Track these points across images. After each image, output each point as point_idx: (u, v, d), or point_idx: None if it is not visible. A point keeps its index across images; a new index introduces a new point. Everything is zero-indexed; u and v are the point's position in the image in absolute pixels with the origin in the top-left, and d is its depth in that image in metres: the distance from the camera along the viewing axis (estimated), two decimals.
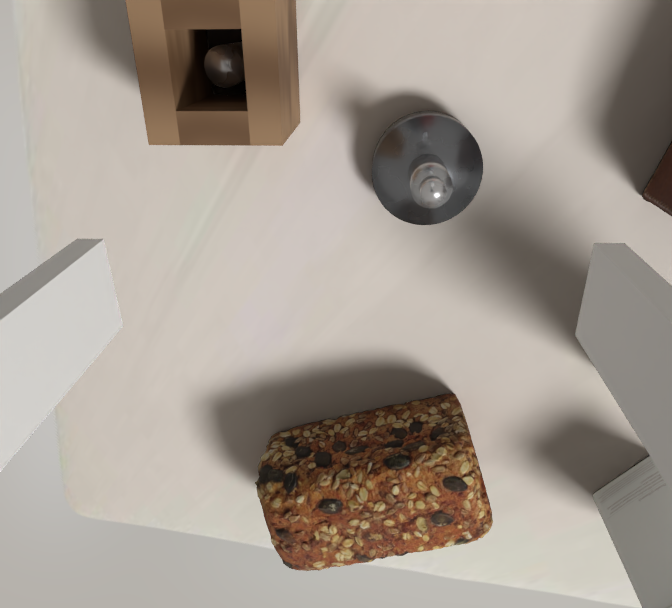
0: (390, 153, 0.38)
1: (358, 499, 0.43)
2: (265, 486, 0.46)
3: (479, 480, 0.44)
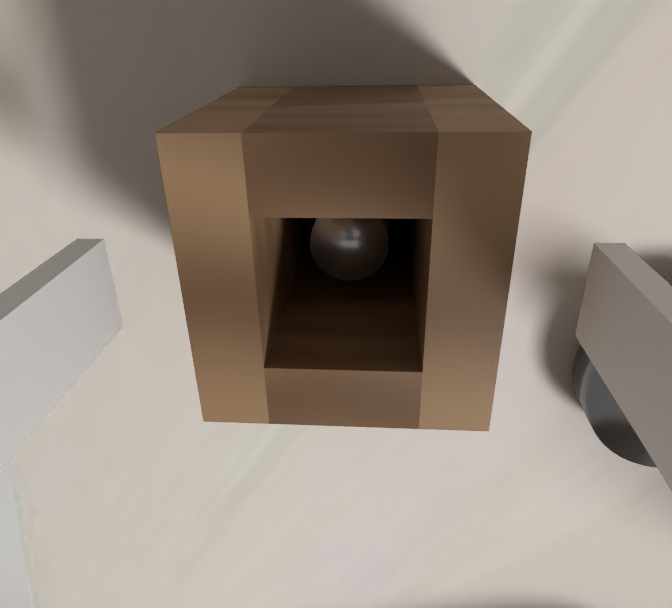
0: None
1: None
2: None
3: None
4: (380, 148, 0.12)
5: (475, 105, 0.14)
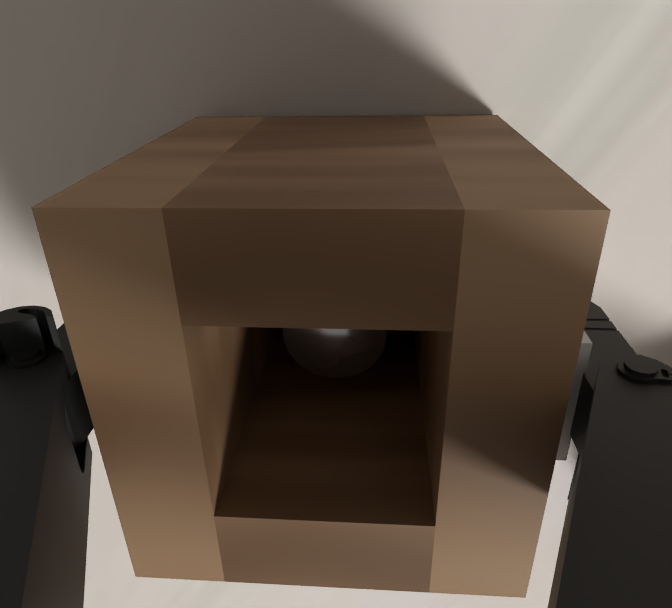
0: None
1: None
2: None
3: None
4: (374, 232, 0.08)
5: (507, 152, 0.10)
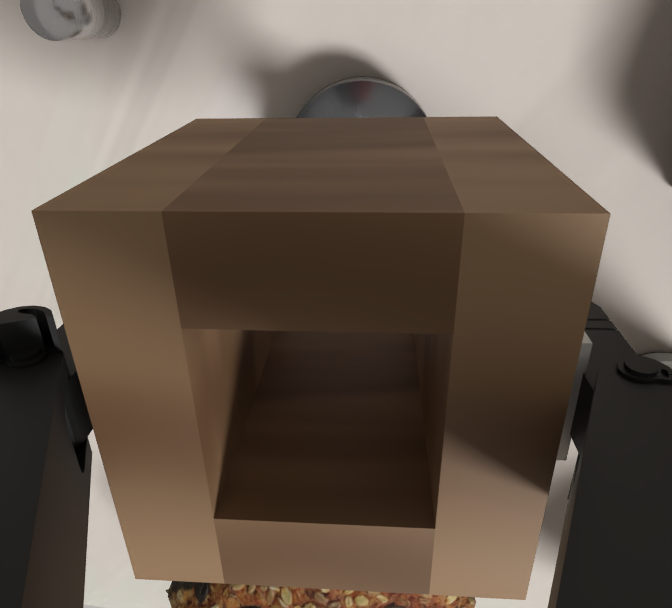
0: None
1: (281, 603, 0.33)
2: (177, 595, 0.36)
3: None
4: (374, 235, 0.08)
5: (507, 154, 0.10)
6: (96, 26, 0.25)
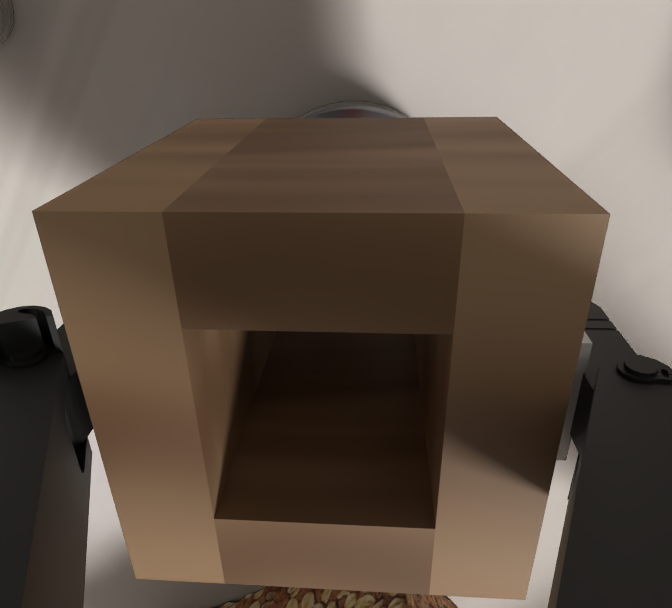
0: None
1: None
2: None
3: None
4: (374, 236, 0.08)
5: (507, 155, 0.10)
6: None
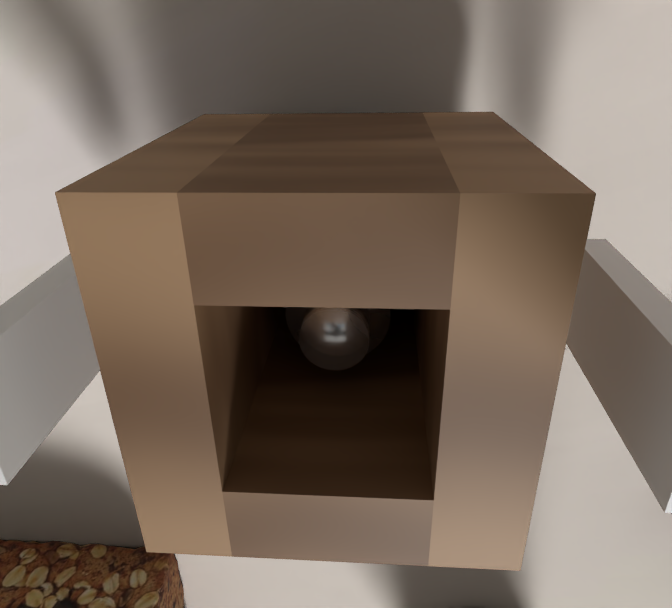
0: None
1: None
2: None
3: None
4: (376, 215, 0.08)
5: (502, 144, 0.11)
6: None
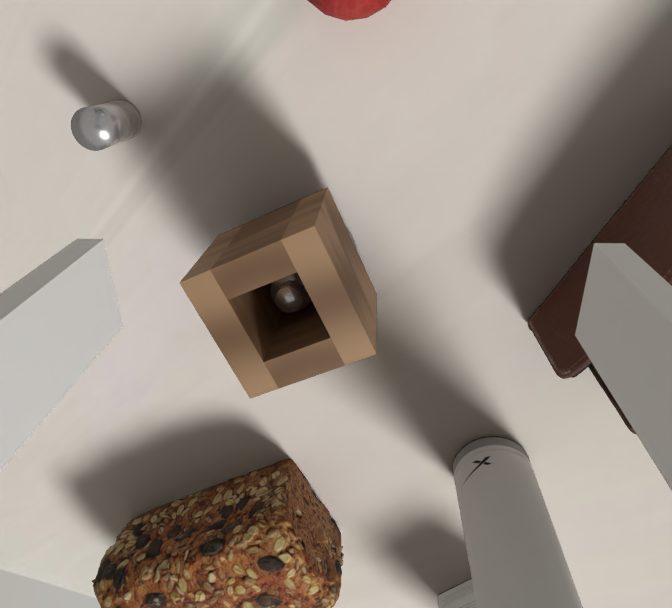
0: None
1: (178, 590, 0.41)
2: (100, 584, 0.45)
3: (301, 555, 0.41)
4: (262, 254, 0.28)
5: (310, 211, 0.31)
6: (122, 139, 0.34)
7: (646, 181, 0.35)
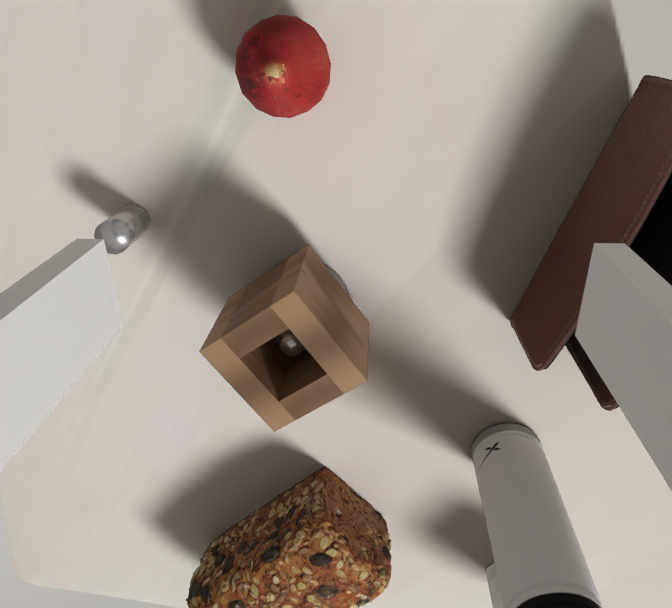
0: None
1: (252, 595, 0.49)
2: (192, 601, 0.53)
3: (345, 548, 0.48)
4: (258, 319, 0.35)
5: (293, 273, 0.37)
6: (136, 238, 0.41)
7: (585, 186, 0.39)
